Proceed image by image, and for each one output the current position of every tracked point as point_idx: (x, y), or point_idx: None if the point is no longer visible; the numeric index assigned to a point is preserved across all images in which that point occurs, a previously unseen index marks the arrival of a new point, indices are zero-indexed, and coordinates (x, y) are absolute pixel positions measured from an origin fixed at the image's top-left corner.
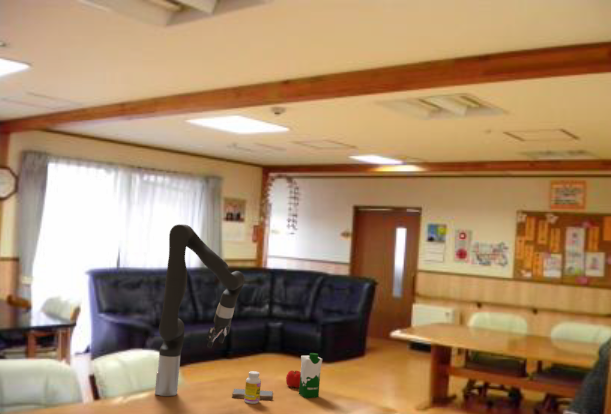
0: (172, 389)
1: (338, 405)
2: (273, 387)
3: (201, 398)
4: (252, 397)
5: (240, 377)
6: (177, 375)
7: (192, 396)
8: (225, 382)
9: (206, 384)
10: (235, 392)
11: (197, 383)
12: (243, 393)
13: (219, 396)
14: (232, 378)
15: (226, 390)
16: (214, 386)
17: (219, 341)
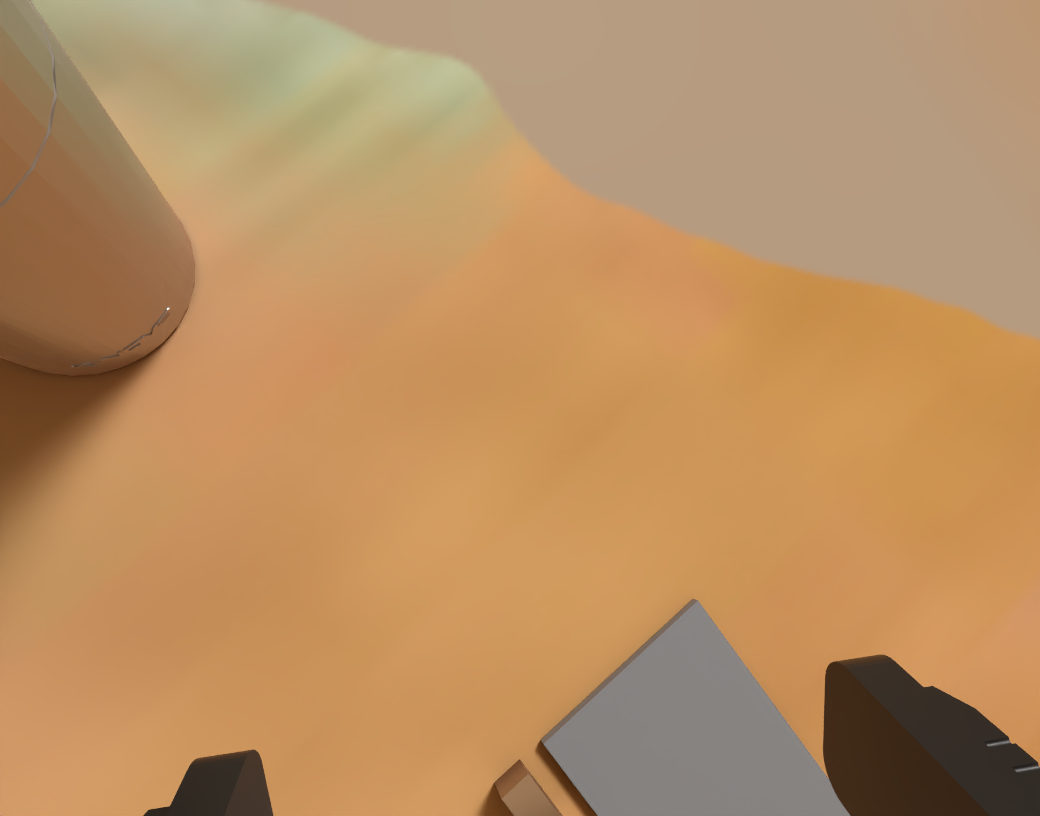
0: (12, 359)
1: None
2: None
3: (231, 620)
4: None
5: (991, 359)
6: (7, 325)
7: (214, 511)
8: (797, 380)
9: (625, 312)
10: (618, 704)
11: (585, 236)
12: (652, 777)
13: (426, 679)
14: (923, 335)
15: (626, 570)
16: (634, 405)
17: (838, 699)
